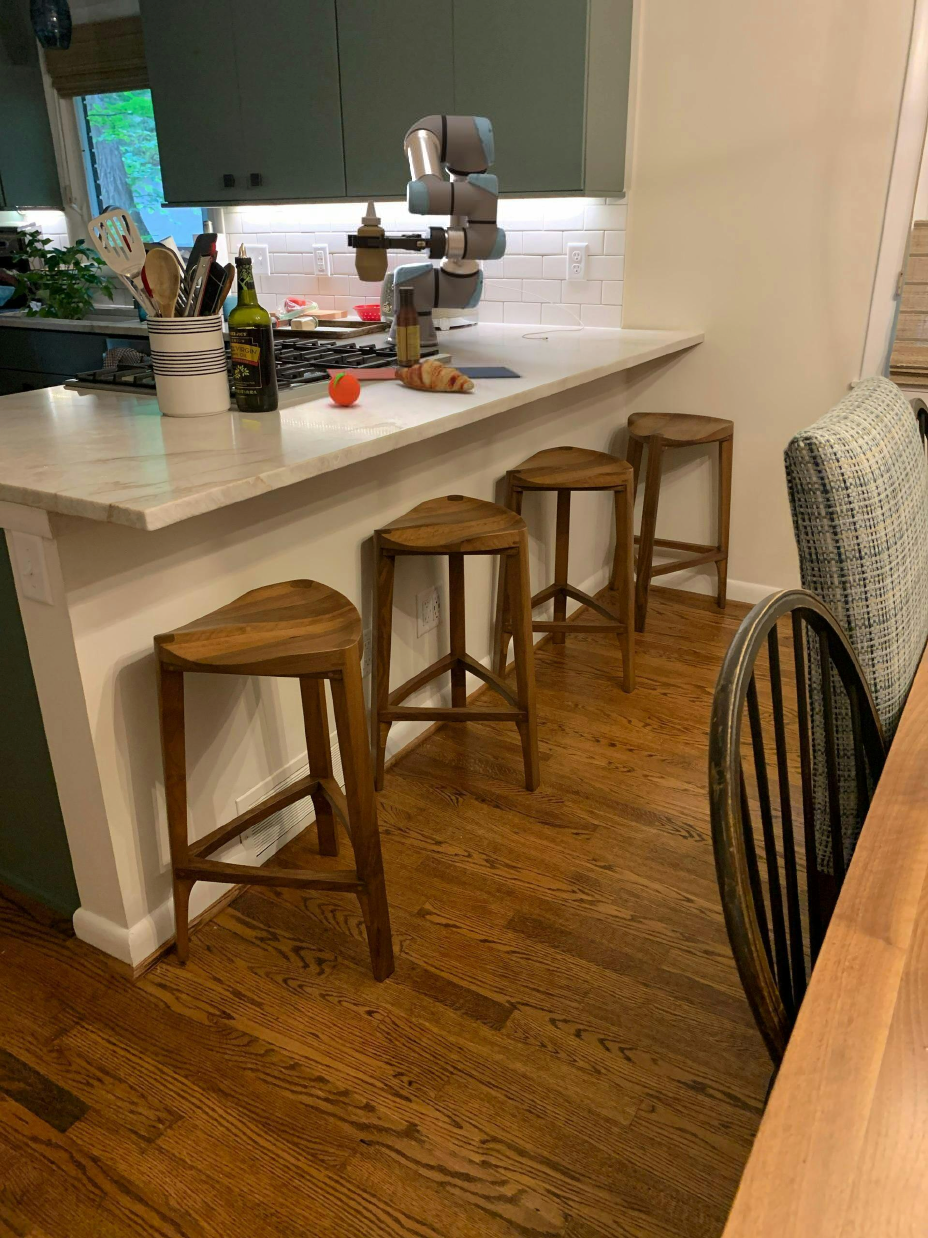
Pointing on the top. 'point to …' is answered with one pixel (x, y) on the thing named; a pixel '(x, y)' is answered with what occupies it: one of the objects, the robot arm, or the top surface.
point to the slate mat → (487, 372)
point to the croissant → (434, 377)
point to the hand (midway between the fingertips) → (350, 240)
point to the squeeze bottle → (371, 260)
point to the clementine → (344, 389)
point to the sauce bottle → (407, 329)
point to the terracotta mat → (366, 373)
